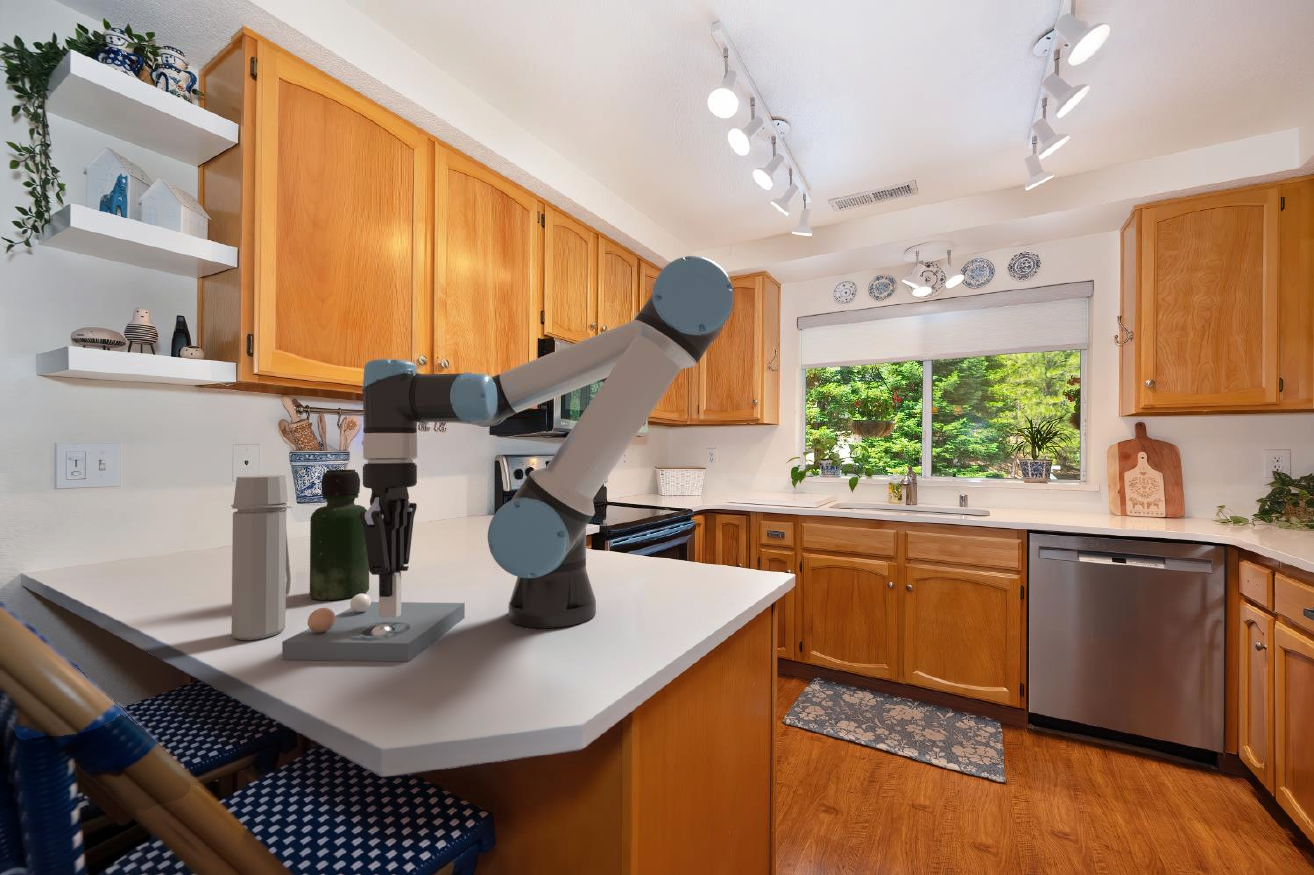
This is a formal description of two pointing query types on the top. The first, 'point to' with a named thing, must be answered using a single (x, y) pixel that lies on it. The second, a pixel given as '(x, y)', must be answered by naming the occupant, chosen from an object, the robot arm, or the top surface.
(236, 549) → the water bottle
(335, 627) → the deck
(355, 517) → the green bottle
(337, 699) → the top surface
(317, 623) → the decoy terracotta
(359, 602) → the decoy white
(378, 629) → the steel ball
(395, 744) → the top surface
